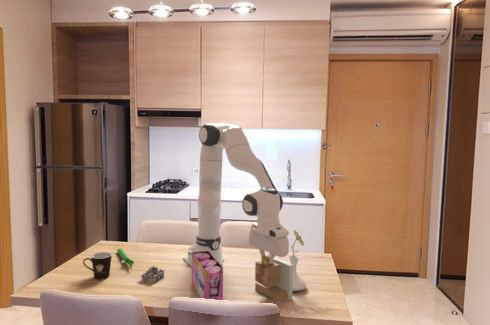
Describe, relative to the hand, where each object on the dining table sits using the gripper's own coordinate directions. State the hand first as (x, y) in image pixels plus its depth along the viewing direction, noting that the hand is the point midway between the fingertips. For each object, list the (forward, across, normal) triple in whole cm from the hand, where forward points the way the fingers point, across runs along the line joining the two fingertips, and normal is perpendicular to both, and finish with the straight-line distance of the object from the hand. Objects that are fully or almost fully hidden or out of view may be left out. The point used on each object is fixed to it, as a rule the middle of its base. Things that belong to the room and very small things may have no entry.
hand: (267, 261), depth 151 cm
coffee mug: (+15, -61, -47) cm, 78 cm away
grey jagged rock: (+16, -44, -29) cm, 55 cm away
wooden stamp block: (+9, 0, 0) cm, 9 cm away
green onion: (+16, -72, -30) cm, 80 cm away
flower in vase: (+15, 0, +16) cm, 22 cm away
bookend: (+15, -1, +4) cm, 16 cm away
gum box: (+15, -19, -16) cm, 30 cm away
